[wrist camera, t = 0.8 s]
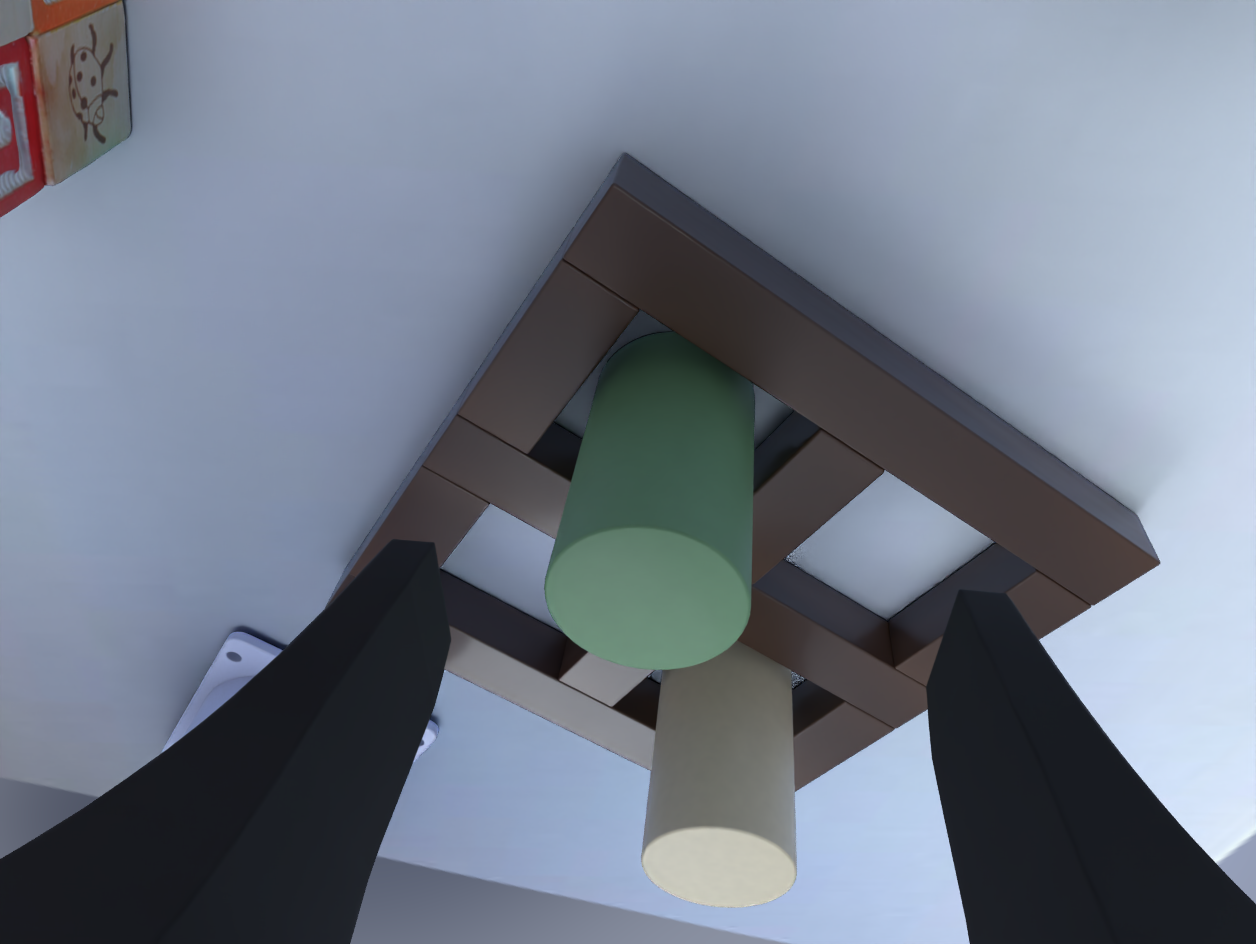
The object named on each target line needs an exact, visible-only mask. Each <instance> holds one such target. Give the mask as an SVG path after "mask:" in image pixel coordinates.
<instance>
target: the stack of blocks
mask: <svg viewBox="0 0 1256 944" xmlns="http://www.w3.org/2000/svg"><path fill="white" fill-rule="evenodd" d="M130 132H131V120H130V105H129V87H128V67H127V52H126V33H125V15H124V8H123V2H122V0H0V217H2V216H4V215H5V214H7V213H8V212H10V211H11V210H13V209H14V208H16V207H17V206H19V205H20V204H22V203H23V202H25V201H26V200H28V199H29V198H31V197H32V196H34V195H35V194H36V193H38V192H39V191H40V190H41V189H42V188H43V187H44V185H48V186H54V185H56V184H58V183H61V182H62V181H64V180H65V179H67V178H68V177H70V176H71V175H73V174H75V173H76V172H78V171H79V170H81V169H83V168H84V167H86V166H87V165H89V164H90V163H92V162H93V161H95V160H96V159H98V158H99V157H100V156H102V155H103V154H105V153H107V152H108V151H109V150H111V149H112V148H113V147H115V146H116V145H118V144H119V143H121V142H122V141H124V140H126V139H127V138H128V137H129V134H130Z"/></svg>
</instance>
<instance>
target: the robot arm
mask: <svg viewBox="0 0 1256 944" xmlns="http://www.w3.org/2000/svg"><path fill="white" fill-rule="evenodd" d="M450 644H451V634H450V628H449V623H448V617H447V611H446V605H445V599H444V594H443V588H442V582H441V576H440V571H439V565H438V559H437V553H436V547H435V543H434V542H423V541H412V540H400V539H392V540H391V541H390V542H388V543H387V544H386V545H385V546H384V547H383V548H382V549H381V550H380V551H379V552H378V554H377V555H376V556H375V557H374V558H373V559H372V560H371V561H370V562H369V563H368V564H367V565H366V566H365V567H364V568H363V570H362V571H361V572H360V573H359V574H358V575H357V576H356V577H355V578H354V579H353V580H352V581H351V582H350V583H349V584H348V585H347V586H346V588H345V589H344V590H343V591H342V592H341V593H340V594H339V595H338V596H337V597H336V598H335V599H334V600H333V601H332V602H331V603H330V604H329V605H328V606H327V607H326V608H325V609H324V610H323V611H322V612H321V613H320V614H319V615H318V616H317V617H316V618H315V619H314V620H313V621H312V622H311V623H310V624H309V625H308V626H307V627H306V628H305V629H304V630H303V631H302V632H301V633H300V634H299V635H298V636H297V637H296V638H295V639H294V640H293V641H292V642H291V643H290V644H289V645H288V646H287V647H286V648H285V649H284V650H281V649H279V648H277V647H275V646H273V645H270V644H268V643H266V642H264V641H262V640H260V639H258V638H256V637H253V636H251V635H249V634H247V633H244V632H233V633H231V634H230V635H229V636H228V638H227V640H226V641H225V643H224V645H223V646H222V648H221V650H220V652H219V653H218V655H217V657H216V658H215V660H214V662H213V664H212V665H211V667H210V669H209V671H208V672H207V674H206V676H205V677H204V679H203V681H202V683H201V684H200V686H199V688H198V690H197V691H196V693H195V695H194V696H193V698H192V700H191V702H190V703H189V705H188V707H187V709H186V710H185V712H184V714H183V715H182V717H181V719H180V721H179V722H178V724H177V726H176V728H175V729H174V731H173V733H172V734H171V736H170V738H169V740H168V741H167V743H166V745H165V747H164V748H163V750H162V753H161V754H160V755H159V756H157V757H156V758H154V759H153V760H152V761H150V762H149V763H147V764H146V765H145V766H143V767H142V768H141V769H139V770H138V771H136V772H135V773H134V774H132V775H131V776H129V777H128V778H127V779H125V780H124V781H122V782H121V783H119V784H118V785H117V786H115V787H114V788H112V789H111V790H109V791H108V792H106V793H105V794H103V795H102V796H101V797H99V798H98V799H96V800H95V801H93V802H92V803H90V804H89V805H87V806H86V807H85V808H83V809H81V810H80V811H78V812H77V813H75V814H73V815H72V816H70V817H69V818H67V819H65V820H64V821H62V822H61V823H59V824H57V825H56V826H54V827H53V828H51V829H49V830H48V831H46V832H44V833H43V834H41V835H40V836H38V837H36V838H35V839H34V840H32V841H30V842H28V843H27V844H25V845H23V846H22V847H20V848H18V849H17V850H15V851H13V852H12V853H10V854H8V855H6V856H5V857H3V858H1V859H0V944H350V942H351V939H352V935H353V932H354V928H355V925H356V921H357V917H358V914H359V911H360V907H361V903H362V900H363V896H364V893H365V889H366V886H367V882H368V879H369V876H370V873H371V871H372V868H373V865H374V862H375V859H376V856H377V853H378V850H379V848H380V845H381V842H382V840H383V837H384V835H385V832H386V830H387V827H388V825H389V822H390V820H391V817H392V814H393V812H394V809H395V807H396V804H397V802H398V799H399V797H400V794H401V792H402V789H403V786H404V784H405V781H406V779H407V776H408V774H409V771H410V769H411V766H412V764H413V763H414V762H415V761H416V760H417V759H418V758H419V757H420V756H421V755H422V754H423V753H424V751H425V750H426V749H427V748H428V747H429V746H430V745H431V744H432V743H433V742H434V741H435V740H436V738H437V735H438V732H439V728H438V726H437V725H436V724H435V723H434V722H433V721H431V720H430V717H431V714H432V712H433V709H434V706H435V703H436V699H437V695H438V692H439V688H440V684H441V680H442V677H443V673H444V668H445V664H446V660H447V656H448V652H449V648H450ZM926 692H927V705H928V719H929V731H930V742H931V752H932V760H933V765H934V770H935V775H936V780H937V785H938V790H939V795H940V800H941V805H942V810H943V814H944V819H945V824H946V829H947V833H948V838H949V843H950V847H951V852H952V857H953V862H954V866H955V871H956V876H957V880H958V885H959V890H960V895H961V899H962V904H963V909H964V913H965V918H966V924H967V930H968V936H969V942H970V944H1256V904H1255V903H1254V902H1253V901H1252V900H1251V899H1250V898H1249V897H1248V896H1247V895H1246V894H1245V893H1244V892H1243V891H1242V890H1241V889H1240V888H1239V887H1238V886H1237V885H1236V884H1235V883H1234V882H1233V881H1232V880H1231V879H1230V878H1229V877H1228V876H1227V875H1226V874H1225V872H1223V871H1222V869H1221V868H1220V867H1219V866H1218V865H1217V864H1216V863H1215V862H1214V861H1213V860H1212V859H1211V858H1210V857H1209V855H1208V854H1207V853H1206V852H1205V851H1204V850H1203V849H1202V848H1201V847H1200V846H1199V845H1198V844H1197V843H1196V842H1195V840H1194V839H1193V838H1192V837H1191V836H1190V835H1189V834H1188V833H1187V832H1186V830H1185V829H1184V828H1183V827H1182V826H1181V825H1180V824H1179V823H1178V821H1177V820H1176V819H1175V818H1174V817H1173V816H1172V815H1171V813H1170V812H1169V811H1168V810H1167V809H1166V808H1165V806H1164V805H1163V804H1162V803H1161V802H1160V801H1159V799H1158V798H1157V797H1156V796H1155V795H1154V793H1153V792H1152V791H1151V790H1150V789H1149V787H1148V786H1147V785H1146V784H1145V782H1144V781H1143V780H1142V779H1141V778H1140V776H1139V775H1138V774H1137V773H1136V772H1135V770H1134V769H1133V768H1132V767H1131V765H1130V764H1129V763H1128V762H1127V760H1126V759H1125V758H1124V757H1123V755H1122V754H1121V753H1120V752H1119V750H1118V749H1117V748H1116V746H1115V745H1114V744H1113V743H1112V741H1111V740H1110V739H1109V737H1108V736H1107V735H1106V733H1105V732H1104V731H1103V729H1102V728H1101V727H1100V725H1099V724H1098V723H1097V721H1096V720H1095V719H1094V717H1093V716H1092V715H1091V713H1090V712H1089V711H1088V709H1087V708H1086V707H1085V705H1084V704H1083V703H1082V701H1081V700H1080V699H1079V697H1078V696H1077V694H1076V693H1075V692H1074V690H1073V689H1072V687H1071V686H1070V685H1069V683H1068V682H1067V680H1066V679H1065V678H1064V676H1063V675H1062V673H1061V672H1060V670H1059V669H1058V668H1057V666H1056V665H1055V663H1054V662H1053V660H1052V659H1051V658H1050V656H1049V655H1048V653H1047V652H1046V650H1045V649H1044V647H1043V646H1042V644H1041V643H1040V641H1039V640H1038V638H1037V637H1036V635H1035V634H1034V633H1033V631H1032V630H1031V628H1030V627H1029V625H1028V624H1027V622H1026V621H1025V619H1024V618H1023V616H1022V615H1021V613H1020V612H1019V610H1018V609H1017V607H1016V606H1015V604H1014V603H1013V601H1012V600H1011V599H1010V597H1009V596H1008V595H1007V594H1006V593H998V592H986V591H975V590H964V589H959V590H958V593H957V596H956V599H955V602H954V605H953V608H952V611H951V614H950V617H949V620H948V623H947V626H946V629H945V632H944V635H943V638H942V641H941V644H940V647H939V650H938V653H937V656H936V659H935V662H934V665H933V668H932V670H931V673H930V676H929V679H928V682H927V685H926Z"/></svg>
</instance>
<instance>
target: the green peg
mask: <svg viewBox="0 0 1256 944" xmlns="http://www.w3.org/2000/svg"><path fill="white" fill-rule="evenodd" d="M754 422H755V397H754V390H753V386H752V383H751V381H749V380H747V379H746V378H744V377H743V376H741V375H740V374H738V373H737V372H735V371H734V370H732V369H731V368H729V367H728V366H726V365H725V364H723V363H722V362H720V361H719V360H717V359H715V358H714V357H712V356H711V355H709V354H708V353H706V352H705V351H703V350H702V349H700V348H699V347H697V346H696V345H694V344H693V343H691V342H690V341H688V340H686V339H685V338H683V337H682V336H680V335H679V334H677V333H676V332H664V333H657V334H651V335H648V336H644V337H641V338H639V339H636V340H634V341H632V342H630V343H629V344H627V345H625V346H624V347H622V348H621V349H620V350H619V351H617V352H616V353H615V354H614V355H613V356H612V357H611V358H610V359H609V360H608V362H607V363H606V365H605V366H604V368H603V370H602V372H601V374H600V377H599V380H598V384H597V387H596V391H595V395H594V398H593V402H592V406H591V410H590V413H589V417H588V421H587V425H586V428H585V432H584V436H583V439H582V443H581V447H580V451H579V454H578V458H577V462H576V466H575V469H574V473H573V477H572V480H571V484H570V488H569V492H568V495H567V499H566V503H565V507H564V510H563V514H562V518H561V521H560V525H559V529H558V533H557V536H556V540H555V544H554V547H553V551H552V555H551V559H550V562H549V566H548V570H547V574H546V577H545V585H544V590H545V599H546V602H547V606H548V609H549V611H550V613H551V616H552V618H553V619H554V621H555V622H556V624H557V625H558V627H559V628H560V629H561V630H562V631H563V632H564V634H565V635H567V636H568V637H569V638H570V639H571V640H572V641H573V642H575V643H576V644H577V645H579V646H580V647H581V648H583V649H585V650H586V651H588V652H590V653H591V654H593V655H595V656H598V657H600V658H602V659H604V660H607V661H610V662H613V663H616V664H619V665H623V666H627V667H632V668H638V669H648V670H670V669H679V668H685V667H690V666H693V665H697V664H700V663H703V662H705V661H708V660H710V659H712V658H714V657H716V656H718V655H720V654H721V653H723V652H724V651H725V650H727V649H728V648H729V647H730V646H731V645H733V644H734V643H735V642H736V640H737V639H738V638H739V637H740V635H741V634H742V633H743V631H744V629H745V627H746V625H747V623H748V620H749V616H750V611H751V585H752V531H753V477H754Z"/></svg>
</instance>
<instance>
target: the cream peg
mask: <svg viewBox="0 0 1256 944" xmlns="http://www.w3.org/2000/svg"><path fill="white" fill-rule="evenodd" d="M641 863H642V867H643V869H644V872H645V874H646V875H647V876H648V878H649V879H650V880H651V881H652V882H653V883H654V884H655V885H657V886H658V887H659V888H661V889H662V890H664V891H665V892H667V893H669V894H671V895H673V896H675V897H678V898H680V899H683V900H686V901H689V902H693V903H697V904H701V905H707V906H714V907H727V908H735V907H748V906H755V905H759V904H764V903H767V902H770V901H772V900H775V899H777V898H779V897H780V896H782V895H784V894H785V893H786V892H787V891H788V890H789V889H790V888H791V887H792V886H793V884H794V882H795V880H796V876H797V860H796V823H795V785H794V748H793V711H792V673H791V670H789V669H788V668H786V667H784V666H782V665H780V664H779V663H777V662H775V661H773V660H771V659H770V658H768V657H766V656H764V655H762V654H761V653H759V652H757V651H755V650H753V649H752V648H750V647H748V646H746V645H744V644H743V643H741V642H739V641H737V640H736V642H735V643H734V644H733V645H731V646H730V647H729V648H728V649H727V650H725V651H724V652H723V653H721V654H720V655H718V656H716V657H714V658H712V659H710V660H708V661H705V662H703V663H700V664H697V665H693V666H690V667H685V668H679V669H670V670H662V679H661V688H660V696H659V705H658V714H657V723H656V732H655V740H654V749H653V758H652V767H651V775H650V784H649V793H648V802H647V811H646V819H645V828H644V837H643V846H642V855H641Z"/></svg>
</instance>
